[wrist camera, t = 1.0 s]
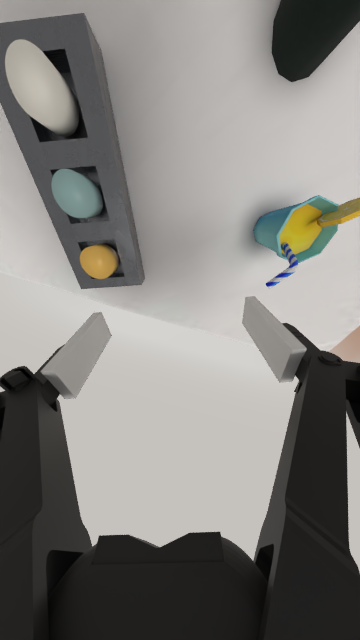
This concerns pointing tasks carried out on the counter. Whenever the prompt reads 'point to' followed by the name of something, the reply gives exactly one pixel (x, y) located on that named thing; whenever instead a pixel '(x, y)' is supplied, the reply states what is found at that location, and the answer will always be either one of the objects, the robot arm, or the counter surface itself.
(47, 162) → the console
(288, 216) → the cup
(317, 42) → the wine bottle
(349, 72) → the counter surface
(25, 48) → the button ivory
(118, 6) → the counter surface
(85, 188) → the button teal
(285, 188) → the counter surface
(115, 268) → the button amber
